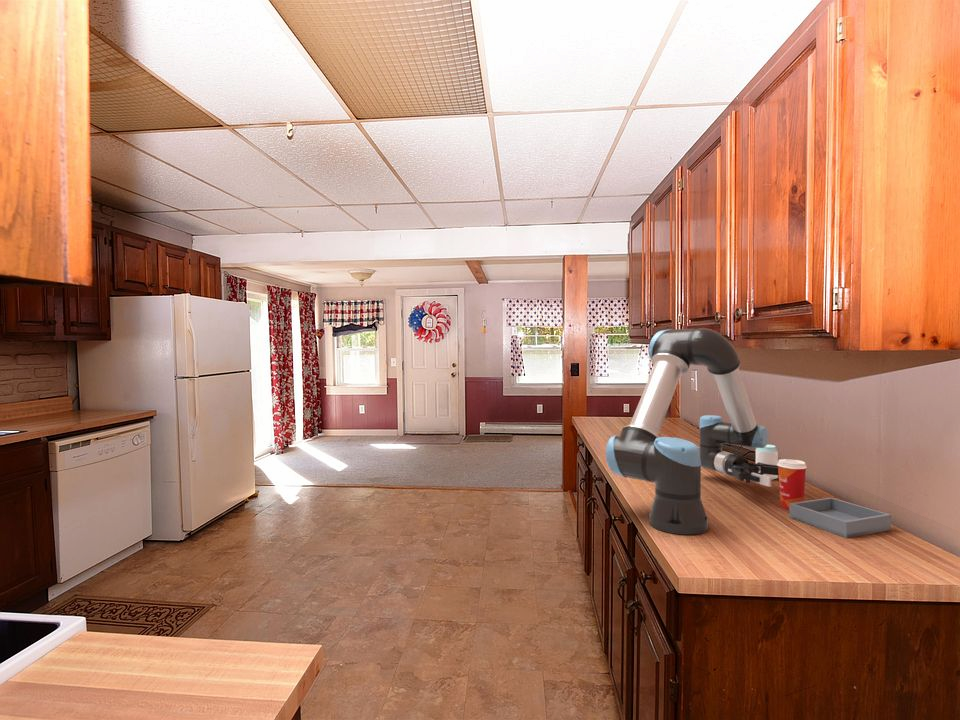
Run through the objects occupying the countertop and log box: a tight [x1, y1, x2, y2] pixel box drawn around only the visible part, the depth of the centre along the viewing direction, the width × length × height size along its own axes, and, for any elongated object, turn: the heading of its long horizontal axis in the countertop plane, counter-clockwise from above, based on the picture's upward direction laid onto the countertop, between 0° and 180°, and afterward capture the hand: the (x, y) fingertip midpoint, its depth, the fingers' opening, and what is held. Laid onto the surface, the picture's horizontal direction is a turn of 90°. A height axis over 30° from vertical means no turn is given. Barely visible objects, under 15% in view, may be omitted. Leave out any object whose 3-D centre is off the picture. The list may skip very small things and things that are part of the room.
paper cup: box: [777, 458, 808, 511], centre depth 147 cm, size 8×8×14 cm
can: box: [755, 443, 779, 481], centre depth 180 cm, size 7×7×12 cm
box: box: [788, 497, 892, 539], centre depth 134 cm, size 16×16×4 cm
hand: (787, 480), depth 149 cm, fingers open, 13 cm apart
